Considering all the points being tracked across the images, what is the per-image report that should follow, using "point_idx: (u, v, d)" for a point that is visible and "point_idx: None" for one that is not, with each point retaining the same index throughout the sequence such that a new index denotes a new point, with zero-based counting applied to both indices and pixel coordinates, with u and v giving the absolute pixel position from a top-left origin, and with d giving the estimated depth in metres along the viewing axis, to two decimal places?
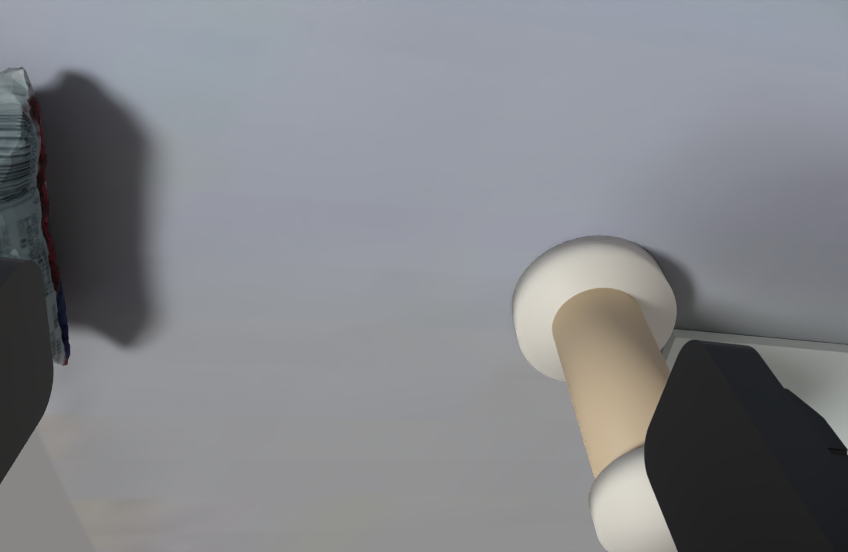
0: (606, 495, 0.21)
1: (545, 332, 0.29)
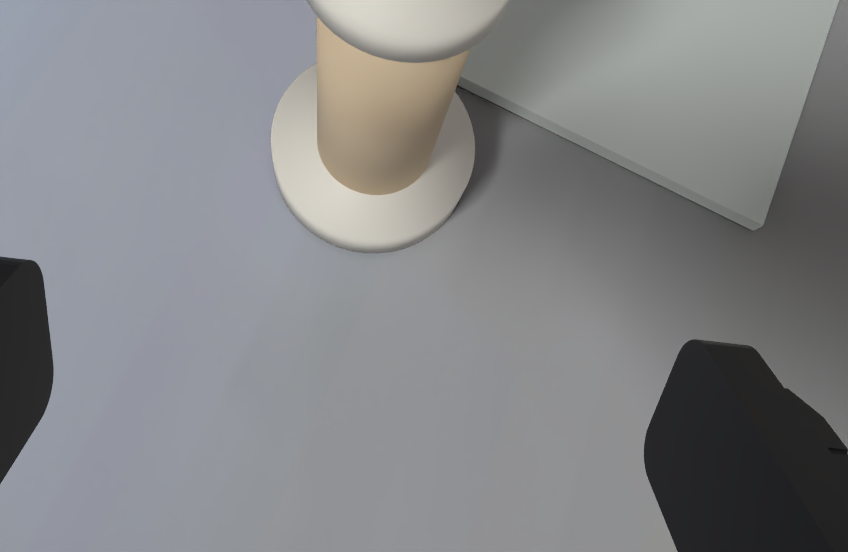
0: (331, 5, 0.13)
1: (365, 202, 0.22)
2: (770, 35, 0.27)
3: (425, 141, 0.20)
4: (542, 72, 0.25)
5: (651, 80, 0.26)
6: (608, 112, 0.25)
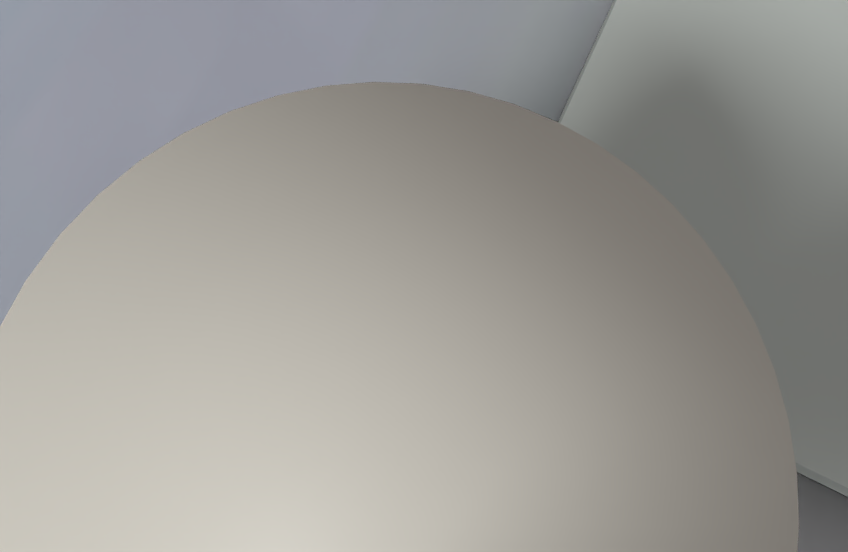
0: None
1: None
2: None
3: None
4: None
5: (802, 306, 0.16)
6: None
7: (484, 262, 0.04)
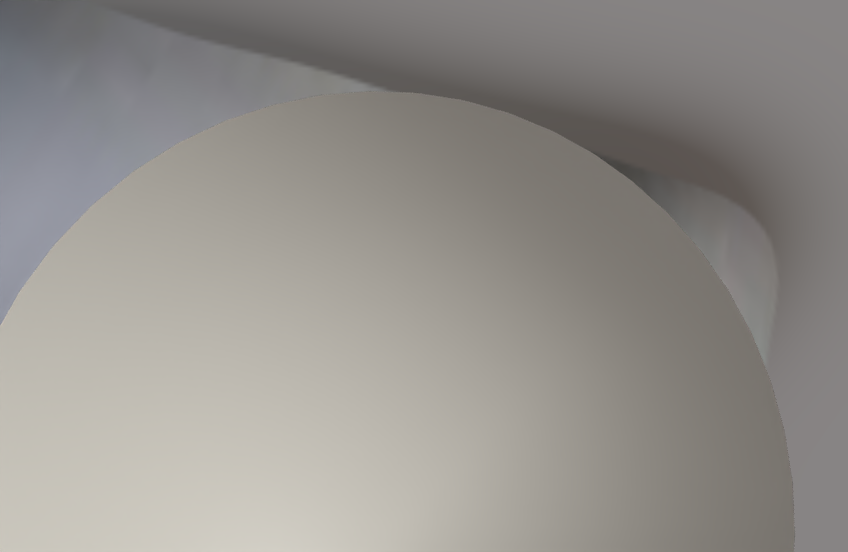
0: None
1: None
2: None
3: None
4: None
5: None
6: None
7: (479, 272, 0.04)
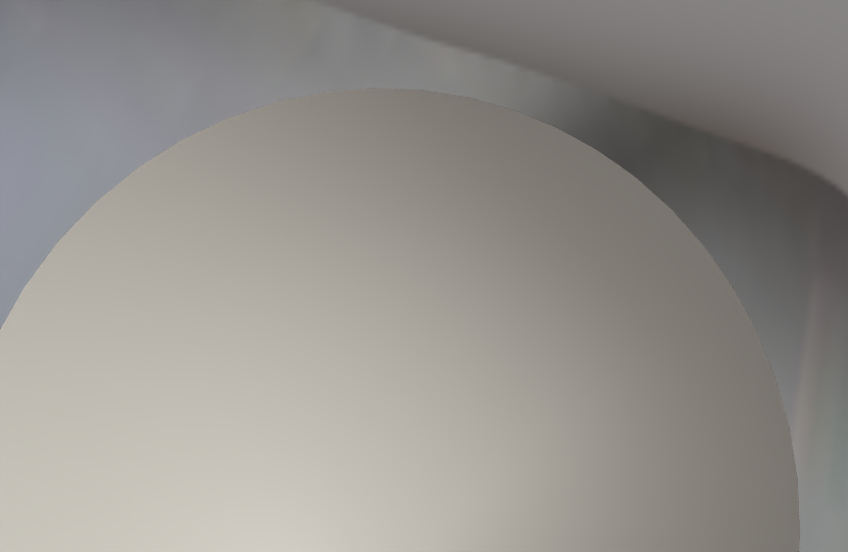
0: None
1: None
2: None
3: None
4: None
5: None
6: None
7: (483, 269, 0.04)
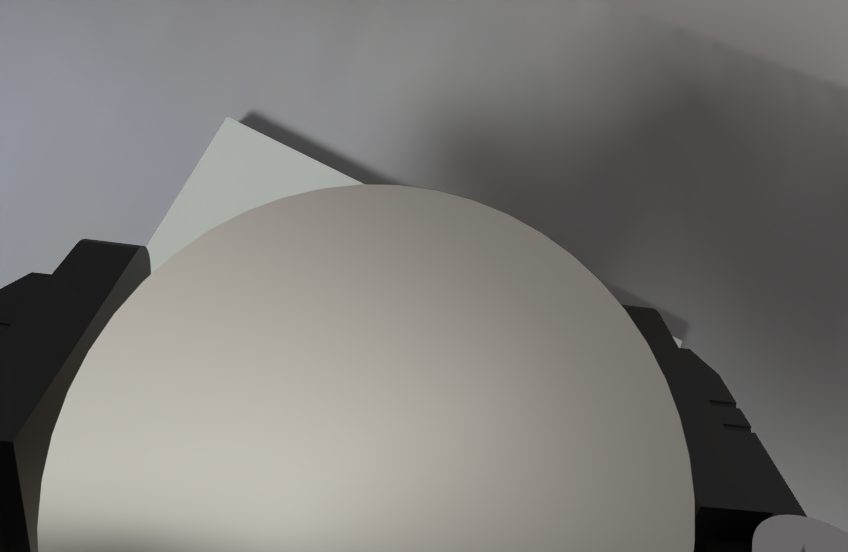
0: None
1: None
2: None
3: None
4: None
5: None
6: None
7: (447, 331, 0.05)
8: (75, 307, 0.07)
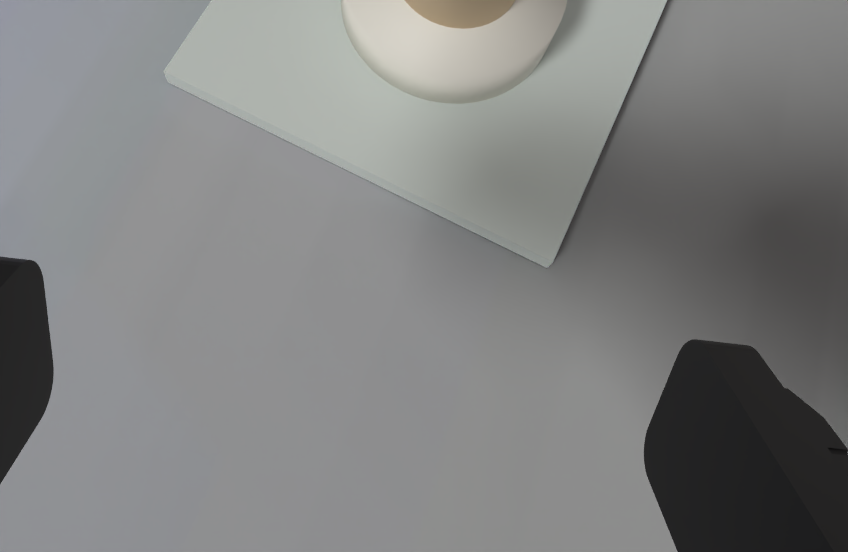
0: None
1: (448, 35, 0.20)
2: (583, 27, 0.22)
3: None
4: (283, 72, 0.21)
5: None
6: (364, 122, 0.20)
7: None
8: None
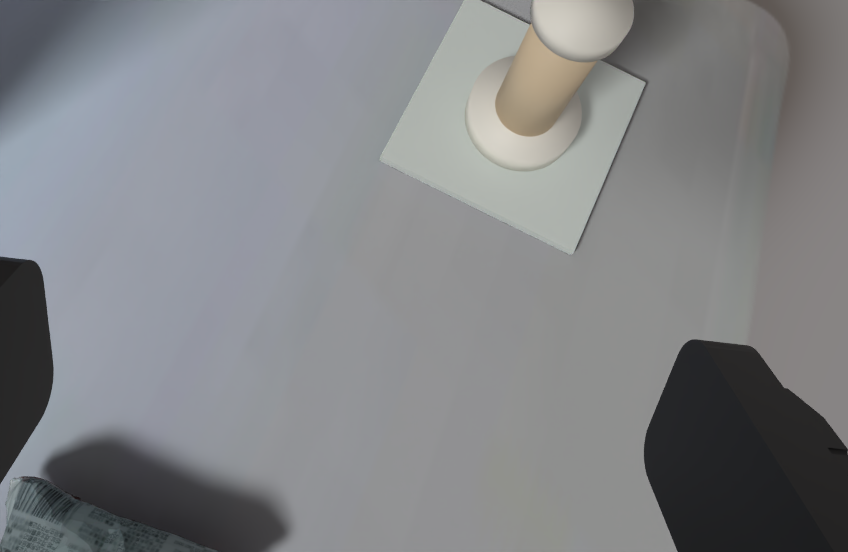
0: (553, 38, 0.31)
1: (523, 140, 0.40)
2: (588, 129, 0.42)
3: (566, 103, 0.37)
4: (438, 156, 0.41)
5: None
6: (479, 181, 0.41)
7: None
8: None
